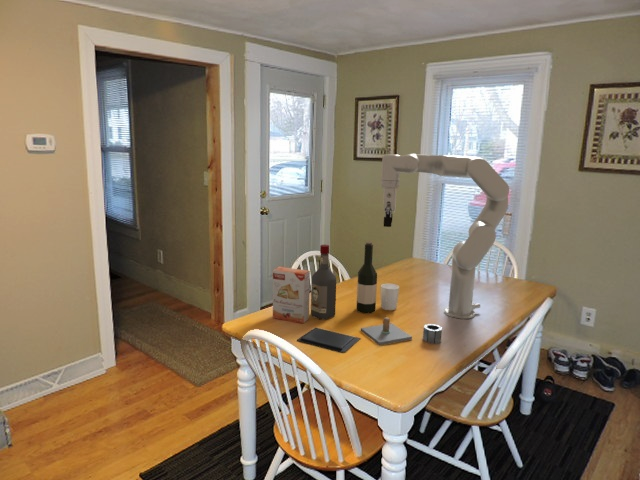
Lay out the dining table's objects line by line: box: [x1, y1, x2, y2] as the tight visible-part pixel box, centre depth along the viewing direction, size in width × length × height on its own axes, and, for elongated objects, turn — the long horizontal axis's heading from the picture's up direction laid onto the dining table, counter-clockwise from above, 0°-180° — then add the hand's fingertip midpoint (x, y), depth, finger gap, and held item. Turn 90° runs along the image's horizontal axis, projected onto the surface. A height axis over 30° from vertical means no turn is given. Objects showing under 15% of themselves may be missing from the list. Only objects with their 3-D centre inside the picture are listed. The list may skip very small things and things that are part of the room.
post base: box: [360, 316, 413, 346], centre depth 179 cm, size 14×14×7 cm
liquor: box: [310, 244, 337, 321], centre depth 195 cm, size 9×9×30 cm
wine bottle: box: [356, 241, 378, 314], centre depth 202 cm, size 8×8×30 cm
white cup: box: [380, 283, 400, 311], centre depth 208 cm, size 8×8×10 cm
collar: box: [422, 323, 443, 345], centre depth 176 cm, size 6×6×5 cm
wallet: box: [296, 327, 362, 354], centre depth 175 cm, size 20×2×15 cm
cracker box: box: [272, 266, 311, 324], centre depth 192 cm, size 14×6×21 cm, turn 69°
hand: (387, 224), depth 202 cm, fingers open, 9 cm apart
